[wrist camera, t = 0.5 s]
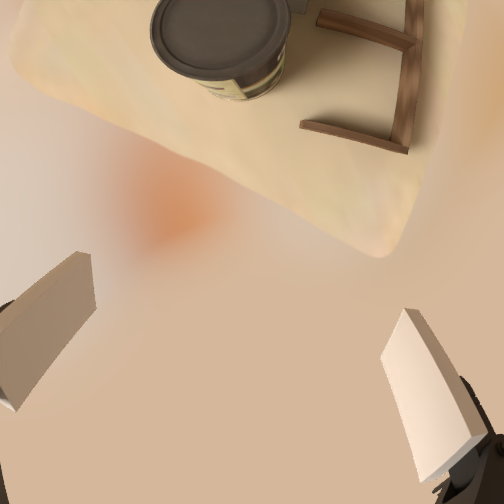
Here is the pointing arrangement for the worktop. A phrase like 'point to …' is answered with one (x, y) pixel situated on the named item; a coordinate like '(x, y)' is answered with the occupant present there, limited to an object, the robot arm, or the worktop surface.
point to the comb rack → (409, 75)
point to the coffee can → (223, 43)
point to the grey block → (298, 6)
